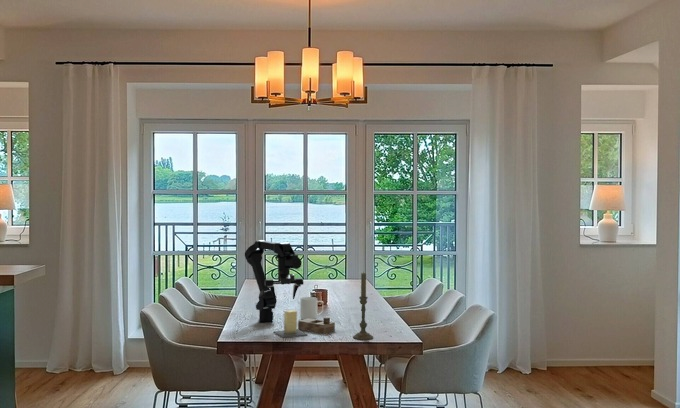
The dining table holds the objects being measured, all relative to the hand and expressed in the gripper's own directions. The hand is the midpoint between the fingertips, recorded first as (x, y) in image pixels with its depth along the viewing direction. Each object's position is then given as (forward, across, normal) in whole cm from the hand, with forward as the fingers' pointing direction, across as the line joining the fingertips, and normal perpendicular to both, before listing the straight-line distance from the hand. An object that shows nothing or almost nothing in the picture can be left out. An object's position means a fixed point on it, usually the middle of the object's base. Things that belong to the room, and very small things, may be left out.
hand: (284, 299), depth 302 cm
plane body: (+14, +14, -12) cm, 23 cm away
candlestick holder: (+15, +32, -32) cm, 47 cm away
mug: (+13, +16, +13) cm, 24 cm away
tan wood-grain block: (+13, 0, -19) cm, 23 cm away
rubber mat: (+14, 0, -19) cm, 23 cm away
